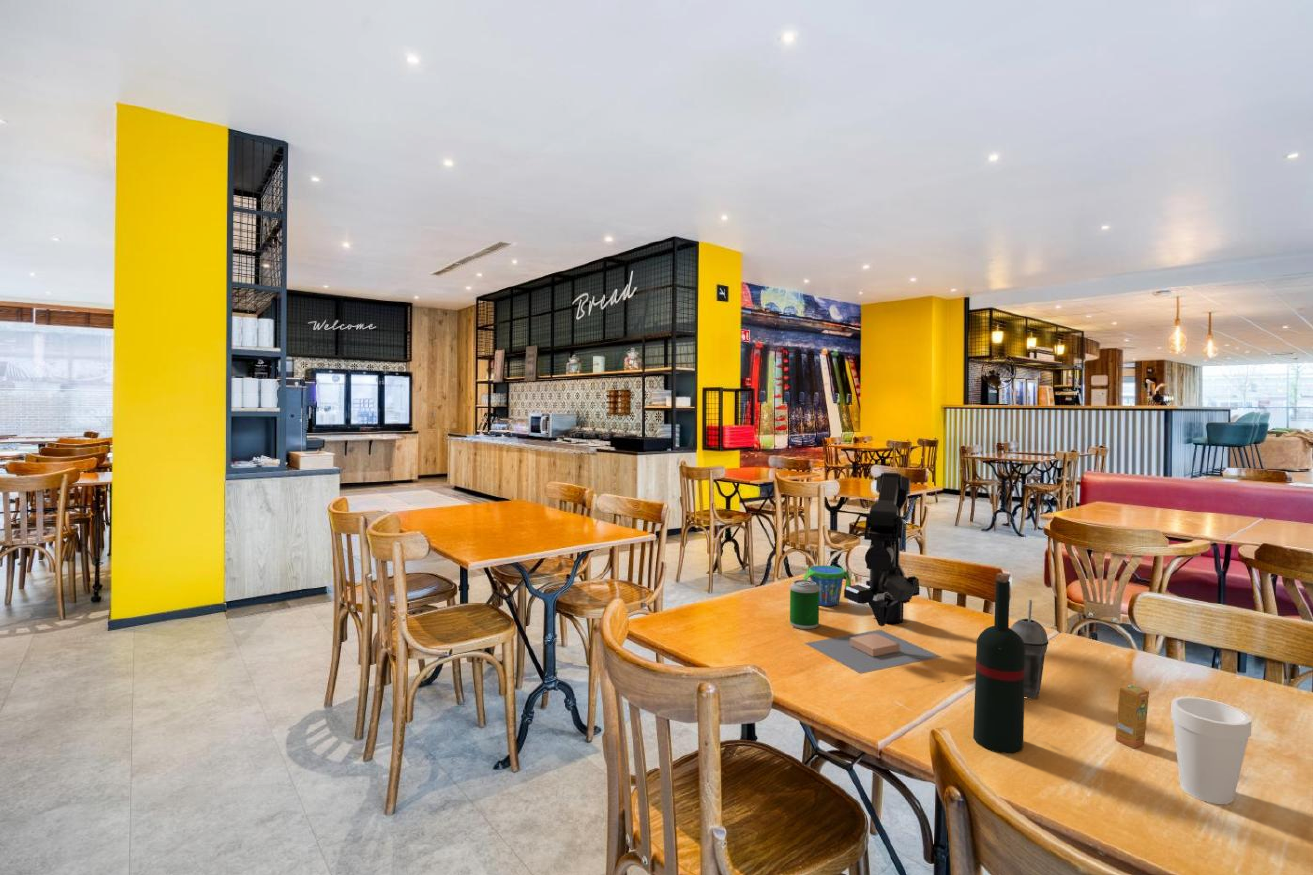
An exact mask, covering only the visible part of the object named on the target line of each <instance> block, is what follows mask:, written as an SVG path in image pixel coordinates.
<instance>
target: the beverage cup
mask: <svg viewBox="0 0 1313 875" xmlns="http://www.w3.org/2000/svg"><path fill="white" fill-rule="evenodd" d="M1032 603H1033V600H1032V599H1029V600H1028V611H1027V612H1028V614H1027V618H1022V619H1018V620H1017V621H1015V622H1014V623H1013V624H1012V625H1011V626H1010V627H1009V628H1010V629H1012V630H1013V631H1015V632H1016V633H1017V634H1018V635H1019V636H1020V637H1021V638H1022V640H1023V641H1024V644H1025V646H1026V649H1025V691H1024V697H1027V698H1037V697H1039V698H1040V691H1041V686H1042V679H1043V672H1044V665H1045V664H1044V663H1045V656H1046V653H1047V649H1048V645H1049V644H1050V643H1049V640H1048V633H1047V632H1046V629H1045V628H1044V626H1043V625H1041V623H1039V622H1038V621H1037V620H1034V619H1032V609H1033V608H1032V607H1033V604H1032ZM1037 699H1038V698H1037Z"/></svg>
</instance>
